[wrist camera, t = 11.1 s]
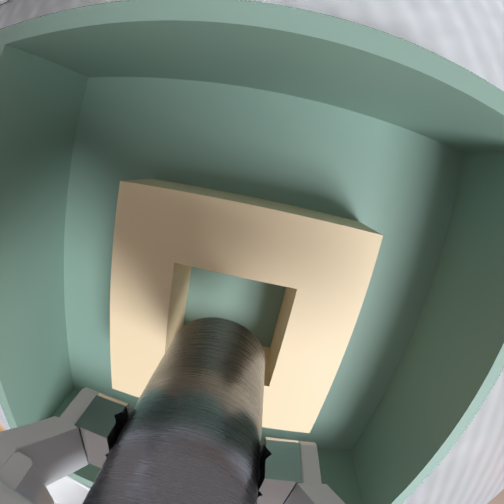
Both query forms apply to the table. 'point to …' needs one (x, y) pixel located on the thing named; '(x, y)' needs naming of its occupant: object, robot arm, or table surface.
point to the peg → (192, 424)
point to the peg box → (254, 222)
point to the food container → (68, 491)
